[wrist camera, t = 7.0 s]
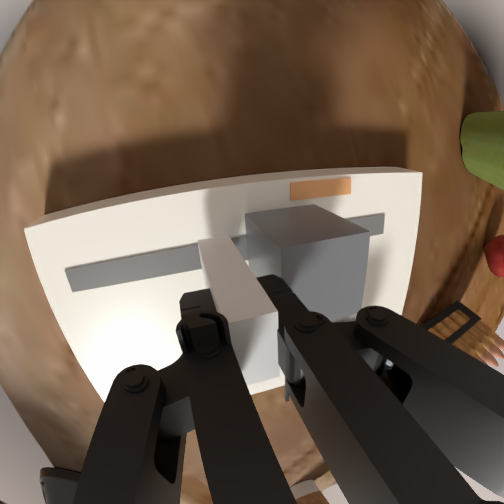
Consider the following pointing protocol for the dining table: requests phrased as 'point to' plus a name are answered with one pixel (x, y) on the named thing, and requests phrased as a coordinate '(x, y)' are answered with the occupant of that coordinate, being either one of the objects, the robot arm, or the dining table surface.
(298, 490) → the coffee cup
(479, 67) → the dining table surface
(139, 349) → the switch panel
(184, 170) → the dining table surface
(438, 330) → the ammunition clip
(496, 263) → the onion
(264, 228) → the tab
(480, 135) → the plant pot
